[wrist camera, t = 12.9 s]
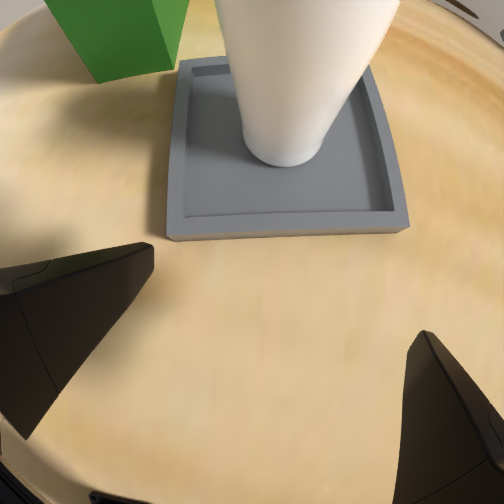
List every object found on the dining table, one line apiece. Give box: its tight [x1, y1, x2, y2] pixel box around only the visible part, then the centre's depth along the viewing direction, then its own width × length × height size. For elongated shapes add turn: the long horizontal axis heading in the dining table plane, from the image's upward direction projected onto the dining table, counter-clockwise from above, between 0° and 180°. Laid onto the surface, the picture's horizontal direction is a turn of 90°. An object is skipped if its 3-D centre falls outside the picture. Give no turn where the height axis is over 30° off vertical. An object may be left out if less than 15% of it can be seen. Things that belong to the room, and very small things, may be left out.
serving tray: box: [166, 56, 410, 242], centre depth 19 cm, size 15×14×2 cm
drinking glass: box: [214, 0, 401, 167], centre depth 12 cm, size 7×7×15 cm
